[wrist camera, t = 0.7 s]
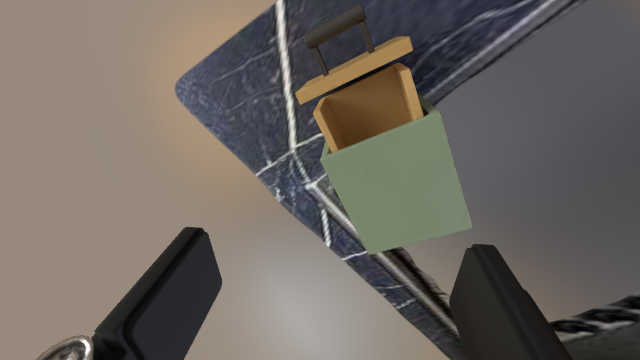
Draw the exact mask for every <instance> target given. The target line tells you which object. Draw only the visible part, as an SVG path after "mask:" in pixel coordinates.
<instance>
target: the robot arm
mask: <svg viewBox="0 0 640 360" xmlns="http://www.w3.org/2000/svg"><path fill="white" fill-rule="evenodd" d="M221 286H222V278H221V275H220V272H219V268H218V265H217V262H216V259H215V256H214V252H213V249H212V246H211V242H210V239H209V235H208V233H207V232H205V231H204V230H203V229H202V228H196V227H186V228H184V229H183V230H182V231H181V232H180V234H179V235H178V236H177V237H176V238H175V239H174V240H173V241H172V243H171V244H170V245H169V246H168V247H167V249H165V251H164V252H163V253H162V254H161V255H160V256H159V258H158V259H157V260H156V261H155V262H154V263H153V264H152V266H151V267H150V268H149V269H148V270H147V271H146V272H145V274H144V275H143V276H142V277H141V278H140V279H139V280H138V282H137V283H136V284H135V285H134V286H133V287H132V288H131V290H130V291H129V292H128V293H127V294H126V295H125V296H124V298H123V299H122V300H121V301H120V302H119V303H118V304H117V306H116V307H115V308H114V309H113V310H112V311H111V312H110V314H109V315H108V316H107V317H106V318H105V319H104V321H103V322H102V323H101V324H100V325H99V326H98V327H97V329H96V330H95V332H96V333H95V334H94V336H93V337H92V338H91V339H90V338H89V337H87V336H82V335H81V336H73V337H71V338H68V339H65V340H63V341H61V342H59V343H57V344H56V345H53V346H52V347H51V348H49V349H48V350H46V351H45V352H44V353H42V354H41V355H40V356H39V357H38V358H37V359H36V360H184V358H185V356H186V354H187V352H188V350H189V349H190V346H191V344H192V343H193V341H194V339H195V337H196V335H197V333H198V331H199V329H200V328H201V325H202V324H203V322H204V320H205V318H206V316H207V314H208V312H209V310H210V308H211V306H212V305H213V303H214V301H215V299H216V297H217V295H218V293H219V291H220V289H221ZM449 304H450V309H451V312H452V315H453V318H454V321H455V324H456V327H457V330H458V333H459V336H460V339H461V341H462V344H463V347H464V350H465V353H466V356H467V359H468V360H573V359H572V357H571V356H570V354H569V353H568V351H567V350H566V348H565V347H564V345H563V344H562V342H561V341H560V339H559V338H558V336H557V335H556V333H555V332H554V330H553V329H552V327H551V326H550V324H549V323H548V321H547V320H546V318H545V317H544V315H543V314H542V312H541V311H540V309H539V308H538V306H537V305H536V303H535V302H534V300H533V299H532V297H531V296H530V295H529V294H528V292H527V291H526V290H524V289H523V288H522V287H521V285H520V284H519V282H518V281H517V279H516V278H515V276H514V274H513V273H512V271H511V270H510V268H509V267H508V265H507V264H506V262H505V261H504V259H503V258H502V256H501V255H500V253H499V252H498V250H497V249H496V247H495V246H493V245H483V244H473V245H472V247H471V248H467V249H466V251H465V254H464V257H463V260H462V263H461V266H460V269H459V273H458V275H457V278H456V281H455V284H454V287H453V290H452V293H451V296H450V300H449Z"/></svg>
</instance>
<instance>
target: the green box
mask: <svg viewBox="0 0 640 360" xmlns="http://www.w3.org/2000/svg"><path fill="white" fill-rule="evenodd" d="M418 98H419V101H420V105H421V108H422V111H423V114H424V117H422V118H419V119H417V120H414V121H411V122H409V123H406V124H404V125H401V126H399V127H396V128H394V129H391V130H389V131H386V132H384V133H381V134H379V135H376V136H374V137H371V138H369V139H366V140H364V141H361V142H359V143H356V144H354V145H351V146H349V147H346V148H344V149H341V150H339V151H336V152H334V153H332V151H331V149H330V147H329V145H328V143H327V141H326V142H325V145H324V149H323V152H322V156H321V160H320V161H321V163H322V165H323V167H324V169H325V171H326V173H327V175H328V177H329V179H330V180H331V182H332V184H333V186H334V188H335V190H336V192H337V194H338V196H339V198H340V200H341V202H342V204H343V206H344V208H345V210H346V212H347V213H348V215H349V217H350V219H351V221H352V223H353V225H354V227H355V229H356V231H357V233H358V235H359V237H360V239H361V241H362V243H363V244H364V246H365V248H366V250H367V252H368V254H369V255H370V254H374V253H378V252H381V251H385V250H389V249H393V248H397V247H401V246H405V245H409V244H413V243H416V242H420V241H424V240H428V239H432V238H436V237H440V236H444V235H448V234H451V233H455V232H459V231H463V230H467V229H470V228H472V225H471V221H470V217H469V214H468V210H467V207H466V203H465V199H464V196H463V192H462V189H461V185H460V182H459V178H458V174H457V171H456V167H455V163H454V160H453V156H452V153H451V149H450V145H449V142H448V138H447V134H446V131H445V128H444V124H443V120H442V117H441V113H440V112H439V111H438V110H437V109H436V108H435V107H433V106H432V105H431V104H430V103H429V102H428V101H427V100H426V99H425V98H424V97H423V96H421V95H420V94H418Z"/></svg>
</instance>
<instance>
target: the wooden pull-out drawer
mask: <svg viewBox="0 0 640 360" xmlns="http://www.w3.org/2000/svg"><path fill="white" fill-rule="evenodd" d="M365 19H366V16H365V13H364V10H363V7H362V5H361V3H360V4H358V5H356V6H354V7H353V8H351V9H349V10H347V11H346V12H344V13H342V14H340V15H339V16H337V17H335V18H333V19H332V20H330V21H328V22H326V23H325V24H323V25H321V26H319V27H318V28H316V29H314V30H312V31H311V32H309V33H307V34H305V35H304V40H305V42H306V44H307V46H308V48H309V49H312V51H313V54H314V56H315V58H316V60H317V63H318V65H319V67H320V69H321V72H322V75H320V76H318V77H316V78H314V79H312V80H310V81H308V82H307V83H306V84H305V85H304V86H303V87H302V88H300V89H299V90H298V91H297V92H296V93H295V94H296V96H297V98H298V100H299V102H300V104H303V103H305V102H307V101H309V100H311V99H313V98H315V97H318V96H320V95H322V94H324V93H326V92H328V91H330V90H332V89H334V88H336V87H338V86H340V85H343V84H345V83H347V82H349V81H351V80H353V79H355V78H357V77H359V76H361V75H363V74H365V73H368V72H370V71H372V70H374V69H376V68H378V67H380V66H382V65H384V64H386V63H388V62H390V61H392V60H395V59H397V58H399V57H401V56H403V55H405V54H407V53H409V52H411V51H413V48H412V44H411V41H410V38H409V37H398V36H397V37H395V38H393V39H391V40H389V41H387V42H385V43H383V44H381V45H379V46H377V47H375V48H374V46H373V43H372V41H371V38H370V35H369V32H368V29H367V26H366V23H365V21H364V20H365ZM358 23H359V27H360V30H361V33H362V35H363V38H364V41H365V44H366V46H367V49H368V51H367V52H365V53H363V54H361V55H359V56H357V57H355V58H353V59H352V60H350V61H348V62H346V63H344V64H342V65H340V66H338V67H336V68H334V69H332V70H330V71H328V69H327V67H326V65H325V63H324V60H323V58H322V56H321V53H320V51H319V49H318V45H320V44H321V43H323V42H325V41H327V40H329V39H331V38H332V37H334V36H336V35H338V34H340V33H342V32H343V31H345V30H347V29H349V28H351V27H353V26H354V25H356V24H358ZM313 115H314V117H315V119H316V121H317V123H318V125H319V127H320V129H321V131H322V133H323V135H324V137H325V139H326V141H327V143H328V145H329V147H330V149H331V151H332V153H334V152H336V151H339V150H341V149H344V148H346V147H349V146H351V145H354V144H356V143H359V142H361V141H364V140H366V139H369V138H371V137H374V136H376V135H379V134H381V133H384V132H386V131H389V130H391V129H394V128H396V127H399V126H401V125H404V124H406V123H409V122H411V121H414V120H417V119H419V118H422V117H424V114H423V111H422V108H421V105H420V101H419V98H418V95H417V92H416V88H415V85H414V82H413V78H412V75H411V72H410V69H409V68H407V67H406V66H404V65H403V64H401V63H399V62H398V63H395V64H393V65H391V66H389V67H387V68H385V69H383V70H381V71H379V72H377V73H374V74H372V75H370V76H368V77H366V78H364V79H362V80H360V81H358V82H355V83H353V84H351V85H349V86H347V87H345V88H343V89H341V90H339V91H337V92H334V93H332V94H330V95H328V96H326V97H324V98H322V99H320V101H319V103H318V105H317V107H316V108H315V110H314V112H313Z"/></svg>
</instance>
